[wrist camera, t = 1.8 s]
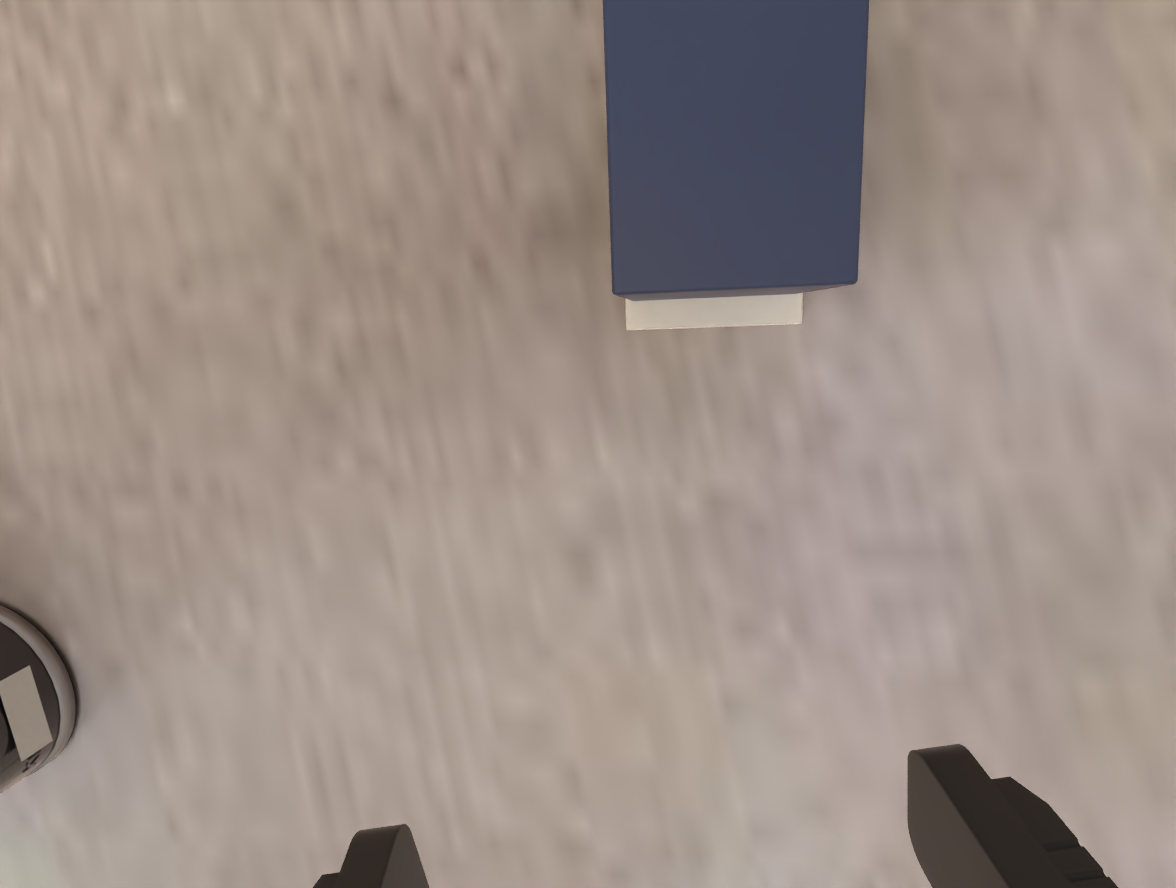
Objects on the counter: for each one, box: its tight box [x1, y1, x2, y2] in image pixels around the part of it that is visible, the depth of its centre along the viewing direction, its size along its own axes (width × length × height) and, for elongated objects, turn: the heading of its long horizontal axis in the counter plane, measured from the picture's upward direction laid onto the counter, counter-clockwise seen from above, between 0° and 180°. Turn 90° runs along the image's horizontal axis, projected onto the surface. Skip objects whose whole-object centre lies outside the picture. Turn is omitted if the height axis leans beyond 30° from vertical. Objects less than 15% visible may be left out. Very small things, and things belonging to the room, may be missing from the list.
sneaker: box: [603, 0, 869, 331], centre depth 18 cm, size 14×6×9 cm, turn 2°
